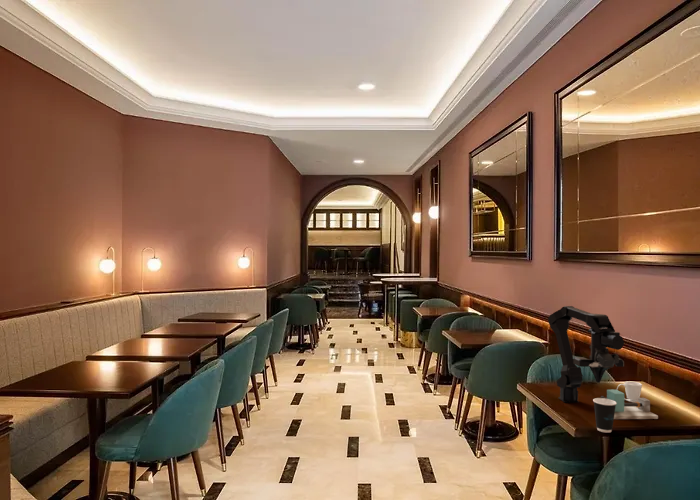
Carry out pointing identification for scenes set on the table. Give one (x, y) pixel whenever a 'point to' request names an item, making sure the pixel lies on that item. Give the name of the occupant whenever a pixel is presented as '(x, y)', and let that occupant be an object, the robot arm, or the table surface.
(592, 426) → the table surface
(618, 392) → the teal block
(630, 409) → the cord board
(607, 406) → the dixie cup
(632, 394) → the cup
